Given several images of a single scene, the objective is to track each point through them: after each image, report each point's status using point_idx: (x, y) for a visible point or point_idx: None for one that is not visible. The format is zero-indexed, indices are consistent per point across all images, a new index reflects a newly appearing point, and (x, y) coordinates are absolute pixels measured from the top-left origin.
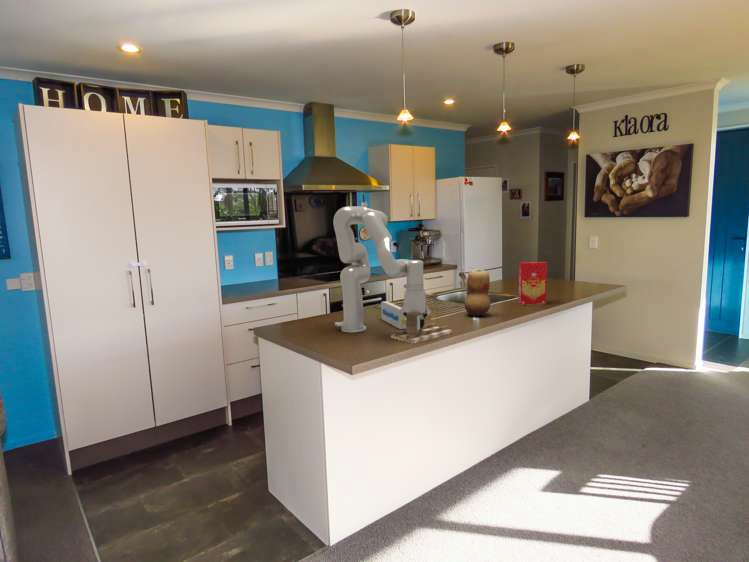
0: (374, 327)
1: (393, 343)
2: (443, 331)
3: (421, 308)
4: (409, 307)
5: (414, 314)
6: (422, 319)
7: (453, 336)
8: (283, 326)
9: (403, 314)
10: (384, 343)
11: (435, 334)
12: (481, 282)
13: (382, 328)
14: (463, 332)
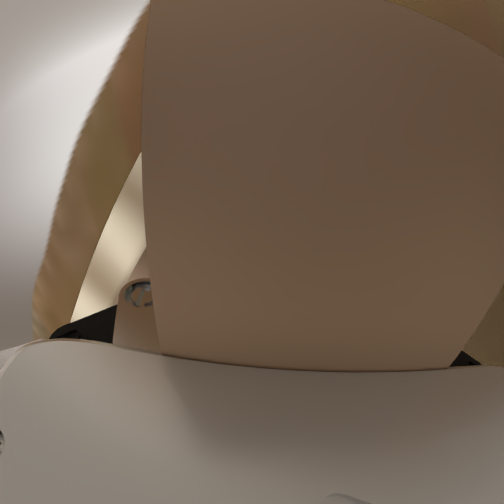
0: (491, 356)
1: (434, 5)
2: (94, 303)
3: (20, 452)
4: (475, 494)
5: (244, 41)
6: (148, 278)
7: (43, 258)
8: None
9: (477, 361)
10: (488, 19)
11: (107, 223)
12: None
13: (468, 353)
14: (46, 328)
